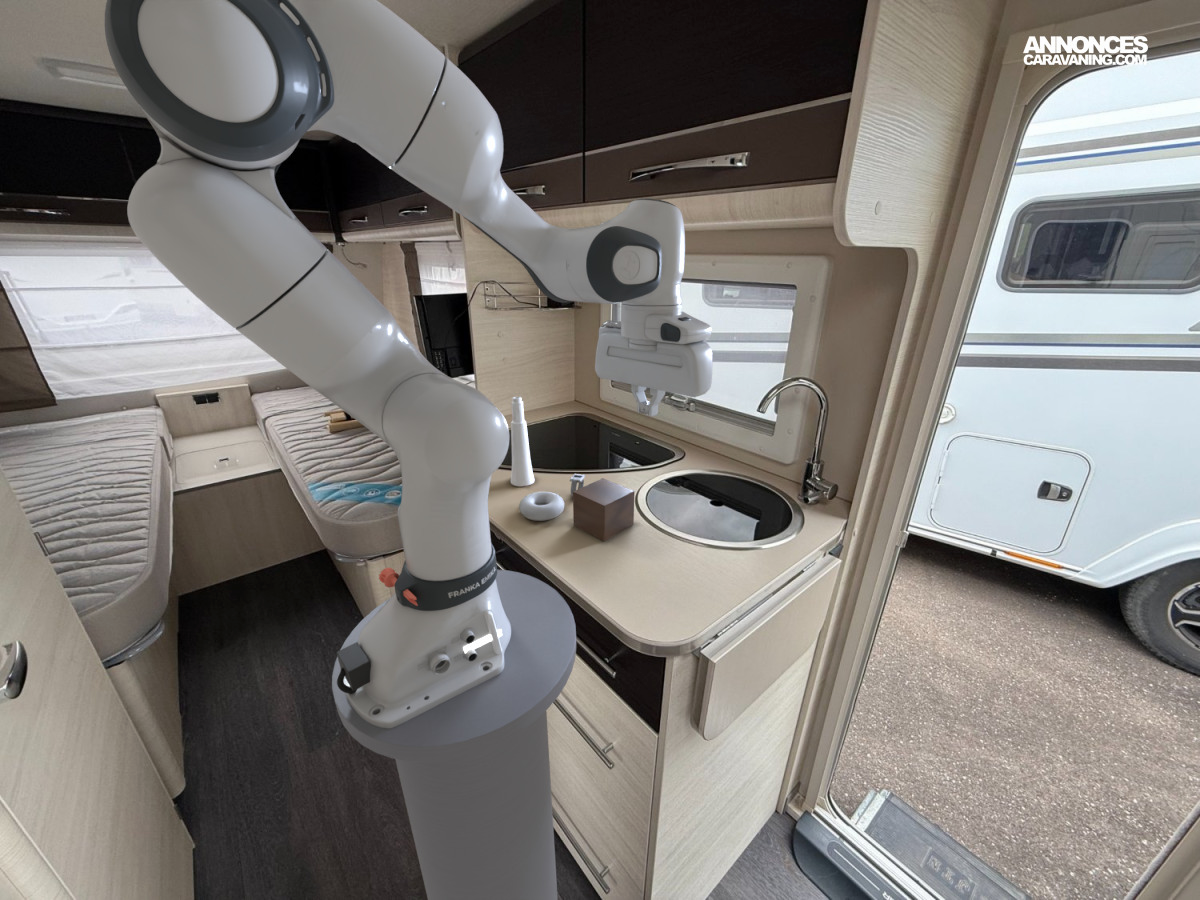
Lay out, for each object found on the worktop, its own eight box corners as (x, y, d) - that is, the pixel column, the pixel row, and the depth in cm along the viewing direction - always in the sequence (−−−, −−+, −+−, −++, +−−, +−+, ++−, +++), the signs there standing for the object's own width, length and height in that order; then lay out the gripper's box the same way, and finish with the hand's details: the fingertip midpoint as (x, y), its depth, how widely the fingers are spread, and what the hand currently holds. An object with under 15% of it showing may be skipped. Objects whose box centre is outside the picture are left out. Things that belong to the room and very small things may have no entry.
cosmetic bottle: (535, 476, 122) (531, 394, 114) (533, 486, 116) (527, 401, 108) (512, 476, 122) (506, 394, 114) (508, 486, 116) (501, 401, 108)
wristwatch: (579, 502, 108) (578, 483, 107) (567, 501, 109) (567, 481, 107) (587, 491, 114) (586, 472, 112) (576, 489, 115) (576, 471, 113)
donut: (558, 526, 99) (569, 503, 108) (558, 511, 97) (568, 490, 107) (513, 522, 100) (527, 500, 109) (512, 508, 99) (526, 486, 108)
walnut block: (604, 541, 93) (604, 505, 90) (573, 525, 99) (572, 491, 96) (633, 524, 99) (634, 490, 96) (602, 510, 105) (602, 478, 102)
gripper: (585, 320, 74) (586, 405, 79) (697, 332, 61) (689, 432, 66) (612, 317, 78) (611, 398, 83) (722, 328, 65) (713, 422, 70)
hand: (647, 413), depth 74 cm, fingers closed
